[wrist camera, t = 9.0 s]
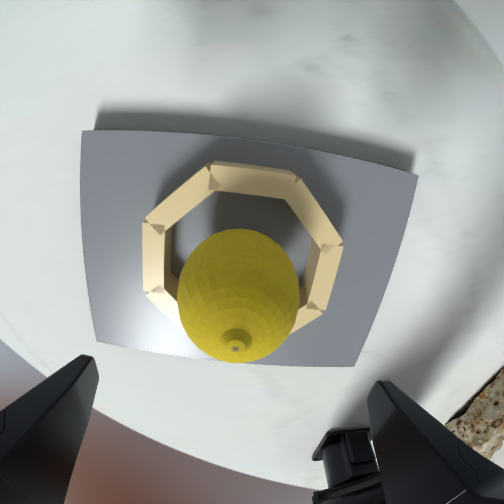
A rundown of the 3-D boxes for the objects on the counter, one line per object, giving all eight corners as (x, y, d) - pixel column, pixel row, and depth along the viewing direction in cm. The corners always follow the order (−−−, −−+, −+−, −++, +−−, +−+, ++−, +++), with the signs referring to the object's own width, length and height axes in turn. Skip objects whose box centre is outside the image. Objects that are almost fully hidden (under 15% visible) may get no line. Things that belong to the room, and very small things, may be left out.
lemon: (174, 244, 17) (127, 328, 10) (254, 190, 16) (258, 246, 9) (229, 311, 19) (221, 412, 12) (305, 267, 18) (338, 360, 11)
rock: (520, 329, 26) (566, 371, 17) (522, 349, 33) (555, 381, 24) (419, 443, 30) (454, 491, 21) (444, 437, 37) (472, 473, 28)
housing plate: (348, 354, 23) (361, 384, 20) (103, 329, 21) (87, 358, 18) (407, 171, 17) (436, 182, 14) (93, 129, 16) (64, 132, 12)
